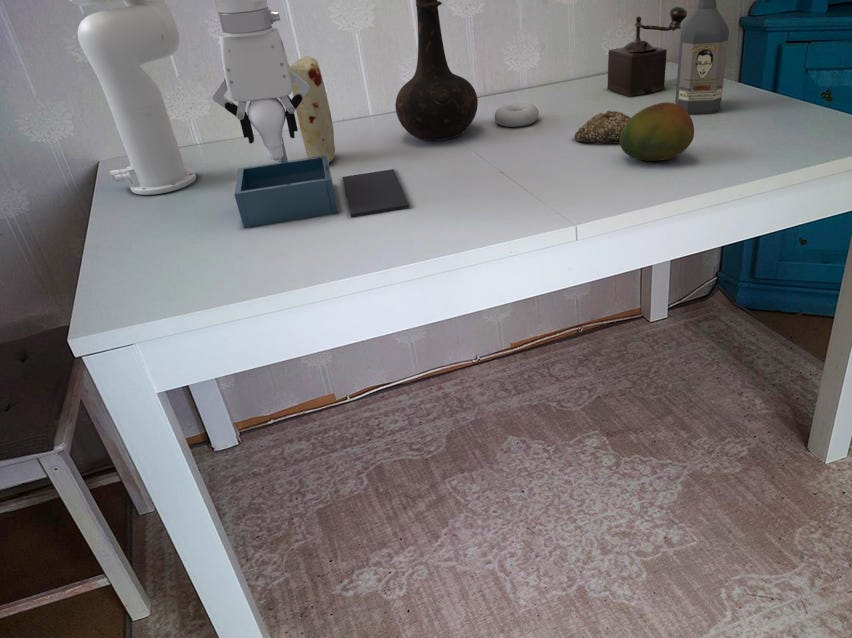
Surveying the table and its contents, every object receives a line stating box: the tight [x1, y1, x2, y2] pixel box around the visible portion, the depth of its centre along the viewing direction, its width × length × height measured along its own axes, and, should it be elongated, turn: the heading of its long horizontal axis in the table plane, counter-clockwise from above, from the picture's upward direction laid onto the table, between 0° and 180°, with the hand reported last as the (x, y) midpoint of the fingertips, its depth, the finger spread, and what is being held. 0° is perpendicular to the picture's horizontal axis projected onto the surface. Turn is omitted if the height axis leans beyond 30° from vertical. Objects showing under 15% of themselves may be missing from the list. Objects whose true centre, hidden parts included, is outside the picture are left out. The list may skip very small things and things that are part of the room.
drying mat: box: [341, 168, 410, 218], centre depth 127 cm, size 10×20×1 cm, turn 14°
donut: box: [494, 102, 539, 128], centre depth 157 cm, size 10×4×10 cm
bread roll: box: [574, 110, 632, 144], centre depth 143 cm, size 13×12×5 cm
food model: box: [289, 55, 336, 163], centre depth 140 cm, size 10×7×20 cm
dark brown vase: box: [394, 0, 479, 141], centre depth 146 cm, size 18×18×28 cm
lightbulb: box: [246, 98, 286, 162], centre depth 117 cm, size 6×6×11 cm
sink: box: [233, 136, 339, 229], centre depth 123 cm, size 16×16×11 cm
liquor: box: [674, 0, 730, 115], centre depth 147 cm, size 9×9×30 cm
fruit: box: [619, 101, 695, 162], centre depth 127 cm, size 12×13×10 cm
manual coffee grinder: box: [606, 6, 688, 98], centre depth 169 cm, size 16×11×18 cm
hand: (272, 137), depth 118 cm, fingers closed on lightbulb, 6 cm apart
